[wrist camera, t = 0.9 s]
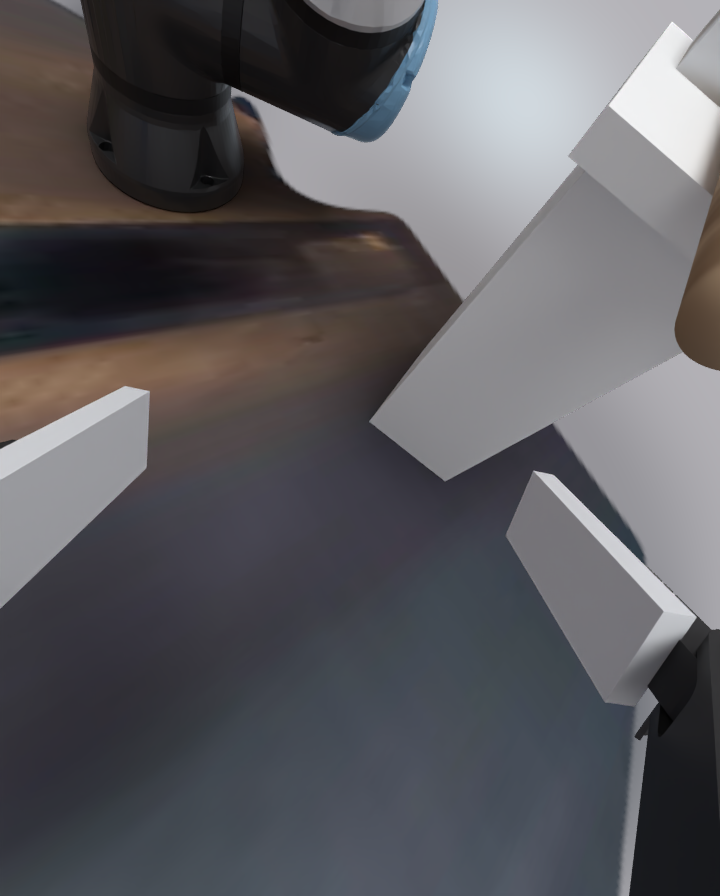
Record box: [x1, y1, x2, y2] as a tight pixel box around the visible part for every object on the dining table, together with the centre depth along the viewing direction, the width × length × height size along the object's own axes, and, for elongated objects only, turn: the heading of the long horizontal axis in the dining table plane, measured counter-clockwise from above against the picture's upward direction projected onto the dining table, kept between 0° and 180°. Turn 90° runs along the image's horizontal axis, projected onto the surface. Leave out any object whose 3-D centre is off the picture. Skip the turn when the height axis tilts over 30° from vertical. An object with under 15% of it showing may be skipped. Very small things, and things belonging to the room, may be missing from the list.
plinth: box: [369, 22, 720, 481], centre depth 33 cm, size 14×12×30 cm
